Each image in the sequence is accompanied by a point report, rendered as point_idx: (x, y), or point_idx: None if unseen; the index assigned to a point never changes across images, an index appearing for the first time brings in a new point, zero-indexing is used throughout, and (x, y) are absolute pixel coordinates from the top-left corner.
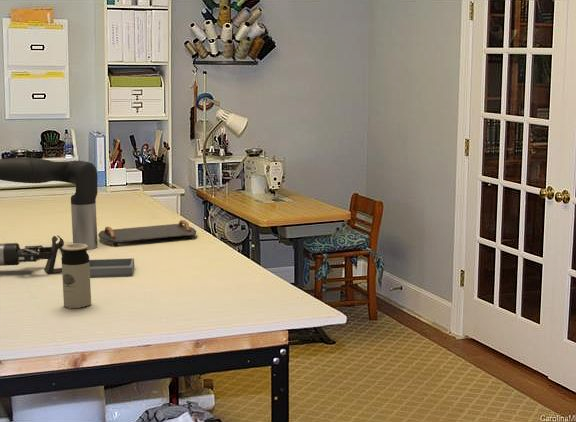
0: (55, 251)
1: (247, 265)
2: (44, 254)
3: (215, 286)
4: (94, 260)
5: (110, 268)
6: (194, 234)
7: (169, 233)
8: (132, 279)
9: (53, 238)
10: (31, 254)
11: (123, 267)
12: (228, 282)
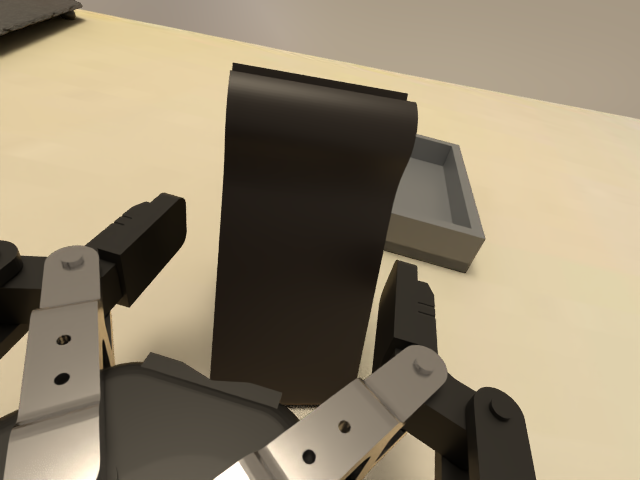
0: (384, 226)
1: (380, 72)
2: (431, 315)
3: (537, 129)
4: None
5: (466, 176)
6: (81, 5)
7: (22, 3)
8: (486, 182)
9: (294, 110)
10: (523, 457)
11: (457, 155)
12: (504, 114)
